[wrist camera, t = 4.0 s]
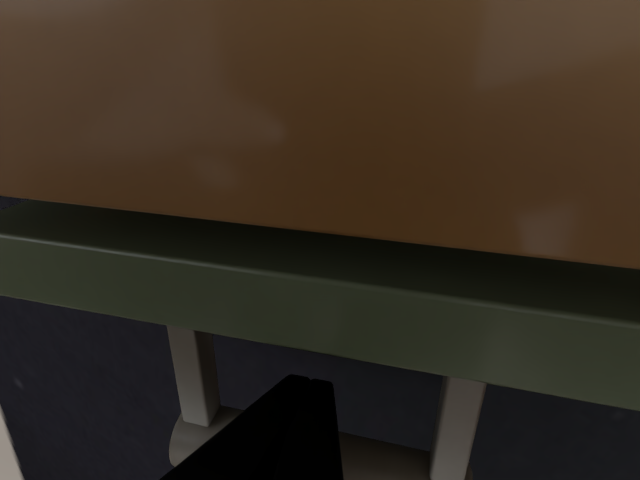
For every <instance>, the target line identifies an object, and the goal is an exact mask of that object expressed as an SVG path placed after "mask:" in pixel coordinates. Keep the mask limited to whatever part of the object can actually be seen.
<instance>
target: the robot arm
mask: <svg viewBox="0 0 640 480" xmlns="http://www.w3.org/2000/svg"><path fill="white" fill-rule="evenodd" d="M160 480H344V477H343V468H342V459H341V450H340V441H339V433H338V424H337V415H336V406H335V397H334V388H333V384H332V383H331V382H330V381H324V380H319V379H312V380H310V379H309V378H308V377H304V376H299V375H293V374H290V375H288V376H286V377H285V378H284V379H283V380H281V381H280V382H279V383H278V384H276V385H275V386H274V387H273V388H272V389H270V390H269V391H268V392H267V393H265V394H264V395H263V396H262V397H260V398H259V399H258V400H257V401H256V402H254V403H253V404H252V405H251V406H249V407H248V408H247V409H246V410H244V411H243V412H242V413H241V414H240V415H238V416H237V417H236V418H235V419H233V420H232V421H231V422H230V423H228V424H227V425H226V426H225V427H224V428H222V429H221V430H220V431H219V432H217V433H216V434H215V435H214V436H213V437H211V438H210V439H209V440H208V441H206V442H205V443H204V444H203V445H201V446H200V447H199V448H198V449H197V450H195V451H194V452H193V453H192V454H190V455H189V456H188V457H187V458H185V459H184V460H183V461H182V462H181V463H179V464H178V465H177V466H176V467H174V468H173V469H172V470H171V471H170V472H168V473H167V474H166V475H165V476H163V477H162V478H161V479H160Z"/></svg>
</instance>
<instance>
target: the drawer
mask: <svg viewBox="0 0 640 480" xmlns="http://www.w3.org/2000/svg"><path fill="white" fill-rule="evenodd" d="M0 295H2V296H8V297H13V298H19V299H24V300H30V301H35V302H41V303H46V304H52V305H57V306H63V307H68V308H74V309H79V310H85V311H90V312H96V313H101V314H107V315H112V316H118V317H123V318H129V319H134V320H140V321H145V322H151V323H156V324H162V325H167V330H168V336H169V342H170V348H171V353H172V359H173V365H174V370H175V376H176V382H177V388H178V393H179V399H180V405H181V410H182V413H181V414H180V416H179V418H178V420H177V422H176V424H175V427H174V429H173V433H172V436H171V440H170V446H169V458H170V462H171V464H172V465H173V466H174V467H176V466H177V465H178V464H179V463H181V462H182V461H183V460H184V459H185V458H187V457H188V456H189V455H190V454H192V453H193V452H194V451H195V450H197V449H198V448H199V447H200V446H201V445H203V444H204V443H205V442H206V441H208V440H209V439H210V438H211V437H213V436H214V435H215V434H216V433H217V432H219V431H220V430H221V429H222V428H224V427H225V426H226V425H227V424H228V423H230V422H231V421H232V420H233V419H235V418H236V417H237V416H238V415H240V414H241V413H242V412H243V411H244V410H240V409H235V408H231V407H226V406H222V405H221V404H220V396H219V387H218V379H217V371H216V363H215V354H214V346H213V338H212V334H217V335H222V336H228V337H233V338H239V339H244V340H250V341H255V342H261V343H266V344H272V345H277V346H283V347H289V348H294V349H300V350H305V351H311V352H316V353H322V354H327V355H333V356H338V357H344V358H349V359H355V360H360V361H366V362H371V363H377V364H382V365H388V366H393V367H399V368H404V369H410V370H415V371H421V372H426V373H432V374H437V375H443V380H442V386H441V392H440V397H439V403H438V409H437V415H436V420H435V426H434V432H433V437H432V443H431V449H430V452H429V451H424V450H420V449H415V448H411V447H406V446H402V445H397V444H393V443H388V442H384V441H379V440H375V439H370V438H366V437H361V436H357V435H352V434H348V433H343V432H339V431H338V433H339V441H340V450H341V459H342V468H343V477H344V480H473V476H472V470H471V466H470V463H469V458H470V454H471V450H472V445H473V441H474V437H475V433H476V428H477V424H478V420H479V415H480V411H481V407H482V403H483V398H484V394H485V390H486V386H487V384H492V385H498V386H503V387H509V388H514V389H520V390H525V391H531V392H536V393H542V394H547V395H553V396H558V397H564V398H569V399H575V400H580V401H586V402H591V403H597V404H602V405H608V406H613V407H619V408H624V409H630V410H636V411H640V269H632V268H623V267H614V266H606V265H597V264H588V263H580V262H571V261H562V260H554V259H545V258H536V257H528V256H519V255H510V254H502V253H493V252H484V251H475V250H467V249H458V248H449V247H441V246H432V245H423V244H415V243H406V242H397V241H389V240H380V239H371V238H363V237H354V236H345V235H337V234H328V233H319V232H311V231H302V230H293V229H284V228H276V227H267V226H258V225H250V224H241V223H232V222H224V221H215V220H206V219H198V218H189V217H180V216H172V215H163V214H154V213H146V212H137V211H128V210H119V209H111V208H102V207H93V206H85V205H76V204H67V203H59V202H50V201H41V200H33V199H30V200H28V201H25V202H22V203H20V204H17V205H14V206H12V207H9V208H6V209H4V210H1V211H0Z"/></svg>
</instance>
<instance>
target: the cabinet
mask: <svg viewBox="0 0 640 480" xmlns="http://www.w3.org/2000/svg"><path fill="white" fill-rule="evenodd" d="M0 196H7V197H15V198H24V199H33V200H41V201H50V202H59V203H67V204H76V205H85V206H93V207H102V208H111V209H119V210H128V211H137V212H146V213H154V214H163V215H172V216H180V217H189V218H198V219H206V220H215V221H224V222H232V223H241V224H250V225H258V226H267V227H276V228H284V229H293V230H302V231H311V232H319V233H328V234H337V235H345V236H354V237H363V238H371V239H380V240H389V241H397V242H406V243H415V244H423V245H432V246H441V247H449V248H458V249H467V250H475V251H484V252H493V253H502V254H510V255H519V256H528V257H536V258H545V259H554V260H562V261H571V262H580V263H588V264H597V265H606V266H614V267H623V268H632V269H640V0H0Z"/></svg>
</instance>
